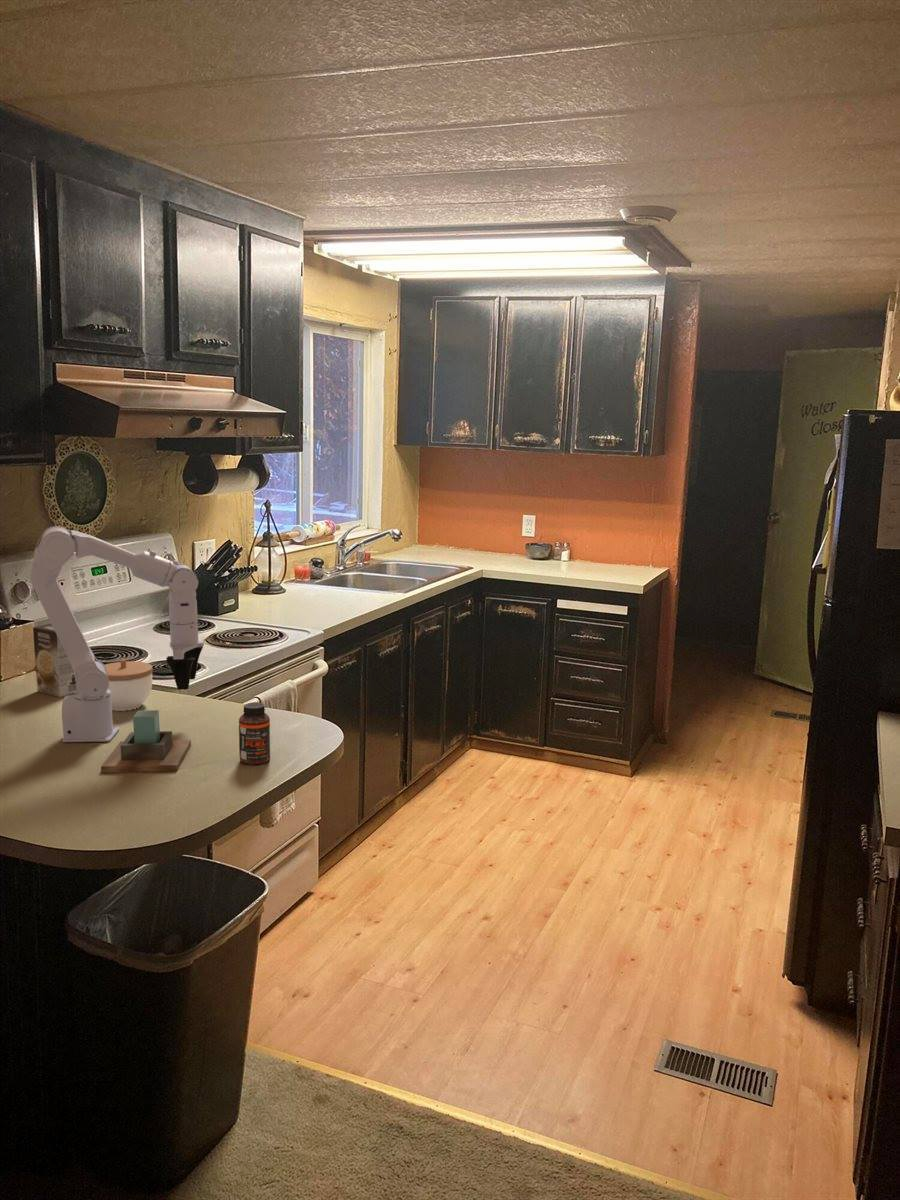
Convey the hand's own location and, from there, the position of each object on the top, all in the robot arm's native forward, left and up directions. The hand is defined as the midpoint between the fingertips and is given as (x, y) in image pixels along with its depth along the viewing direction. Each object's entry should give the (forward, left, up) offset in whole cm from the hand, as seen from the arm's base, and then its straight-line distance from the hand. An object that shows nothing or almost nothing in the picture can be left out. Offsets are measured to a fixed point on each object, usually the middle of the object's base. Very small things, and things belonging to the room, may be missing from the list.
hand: (186, 683), depth 206 cm
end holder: (-4, -20, -9) cm, 22 cm away
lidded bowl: (-17, +15, -10) cm, 25 cm away
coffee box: (-36, +28, -10) cm, 47 cm away
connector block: (-4, -20, -8) cm, 22 cm away
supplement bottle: (+17, -22, -10) cm, 29 cm away
